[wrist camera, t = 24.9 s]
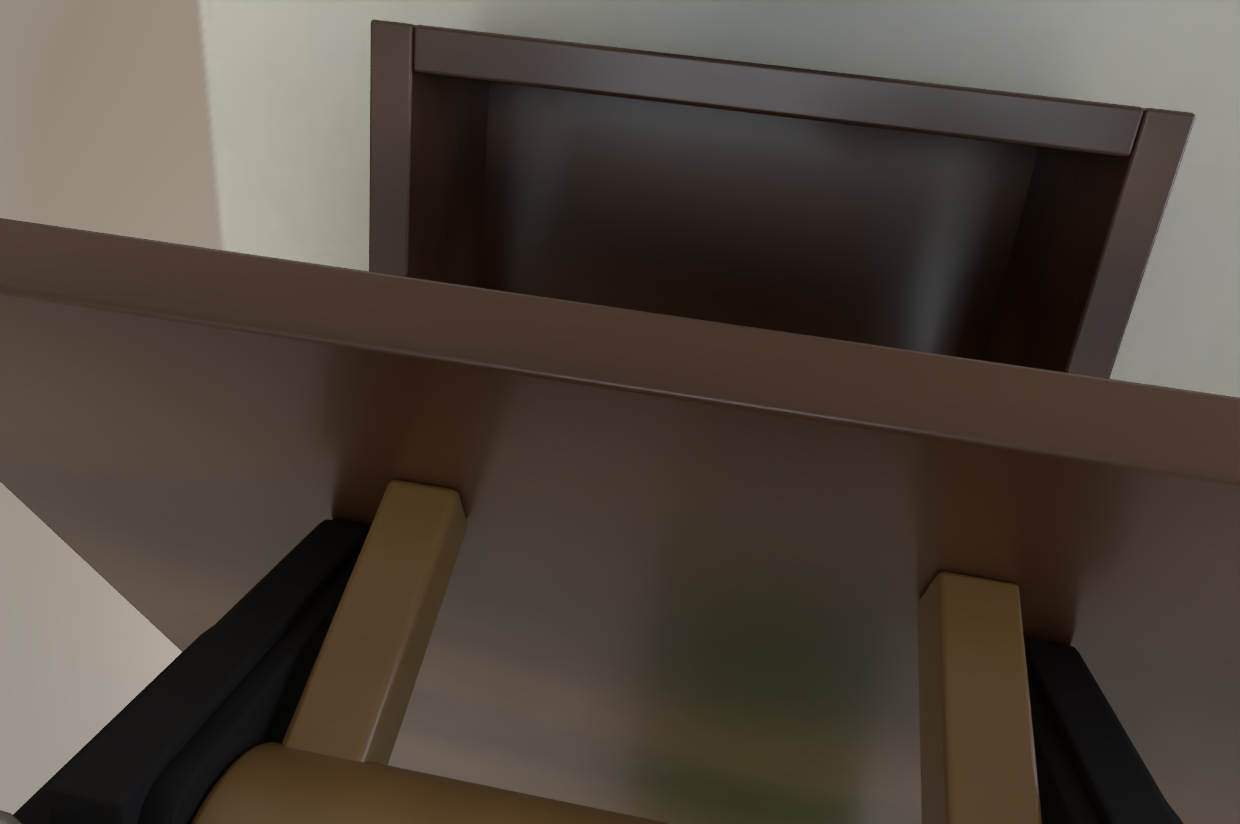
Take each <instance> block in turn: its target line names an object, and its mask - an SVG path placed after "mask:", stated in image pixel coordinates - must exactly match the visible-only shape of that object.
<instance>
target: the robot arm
mask: <svg viewBox="0 0 1240 824" xmlns="http://www.w3.org/2000/svg"><path fill="white" fill-rule="evenodd" d="M370 528H371V526H365V525H360V524H354V523H348V522H342V521H336V520H324V521H322V522H321V523H319V524H318V525H317V526H316V527H315V528H314V529H313V530H312V531H311V532H310V533H309V534H308V535H307V536H306V537H305V538H304V539H303V540H302V541H301V542H300V543H299V544H298V545H297V546H296V547H294V548H293V549H292V550H291V551H290V552H289V553H288V554H287V555H286V556H285V557H284V558H283V559H282V560H281V561H280V562H279V563H278V564H277V565H276V566H275V567H274V568H273V569H272V570H271V571H270V572H269V573H268V574H267V575H266V576H264V577H263V578H262V579H261V580H260V581H259V582H258V583H257V584H256V585H255V586H254V587H253V588H252V589H251V590H250V591H249V592H248V593H247V594H246V595H245V596H244V597H243V598H242V599H241V600H240V601H239V602H238V603H237V604H236V605H234V606H233V607H232V608H231V609H230V610H229V611H228V612H227V613H226V614H225V615H224V616H223V617H222V618H221V619H220V620H219V621H218V622H217V623H216V624H215V625H214V626H212V627H211V628H209V629H208V630H206V631H205V632H204V633H202V634H201V635H200V636H199V637H198V638H197V639H196V640H195V641H194V642H193V643H192V644H190V645H189V646H188V647H187V648H186V649H185V650H184V651H183V652H182V653H181V654H180V655H179V656H178V657H177V658H176V659H175V660H174V661H173V662H172V663H171V664H170V665H169V666H168V667H167V668H166V669H164V670H163V672H161V673H160V674H159V675H158V676H157V677H156V678H155V679H154V680H153V681H152V682H151V683H150V684H149V685H148V686H147V687H146V688H145V689H144V690H143V691H142V692H141V693H139V694H138V695H137V696H136V697H135V698H134V699H133V700H132V701H131V702H130V703H129V704H128V705H127V706H126V707H125V708H124V709H123V710H122V711H121V712H120V713H119V714H118V715H117V716H116V717H115V718H113V719H112V720H111V721H110V722H109V723H108V724H107V725H106V726H105V727H104V728H103V729H102V730H101V731H100V732H99V733H98V734H97V735H96V736H95V737H94V738H93V739H92V740H91V741H90V742H88V743H87V744H86V746H84V747H83V748H82V749H81V750H80V751H79V752H78V753H77V754H76V755H75V756H74V757H73V758H72V759H71V760H70V761H69V762H68V763H67V764H66V765H64V767H63V768H61V769H60V770H59V771H58V772H57V773H56V774H55V775H54V776H53V777H52V778H51V779H50V780H49V781H48V782H47V783H46V784H45V785H44V786H43V787H42V788H41V789H40V790H38V791H37V792H36V794H34V795H33V796H32V797H31V798H30V799H29V800H28V801H27V802H26V803H25V804H24V805H23V806H22V807H21V808H20V809H19V810H18V811H17V812H16V813H15V814H14V815H12V814H10V813H7V812H4V811H1V810H0V824H191V822H192V821H193V819H194V817H195V815H196V813H197V811H198V810H199V808H200V806H201V805H202V803H203V802H204V800H205V798H206V797H207V795H208V794H209V792H210V791H211V789H212V788H213V786H214V785H215V784H216V782H217V781H218V780H219V778H220V777H221V776H222V775H223V773H224V772H225V771H226V770H227V769H228V768H229V767H230V766H231V764H232V763H233V762H234V761H235V760H236V759H238V758H239V757H240V756H241V755H242V754H243V753H245V752H246V751H248V750H249V749H251V748H252V747H255V746H257V745H260V744H264V743H270V742H277V743H281V744H282V742H283V739H284V737H285V735H286V732H287V730H288V727H289V725H290V722H291V720H292V717H293V715H294V713H295V710H296V708H297V705H298V703H299V700H300V698H301V696H302V693H303V691H304V688H305V686H306V683H307V681H308V679H309V676H310V674H311V671H312V669H313V666H314V664H315V661H316V659H317V657H318V654H319V652H320V649H321V647H322V644H323V642H324V640H325V637H326V635H327V632H328V630H329V627H330V625H331V622H332V620H333V618H334V615H335V613H336V610H337V608H338V605H339V603H340V601H341V598H342V596H343V593H344V591H345V588H346V586H347V584H348V581H349V579H350V576H351V574H352V571H353V569H354V566H355V564H356V562H357V559H358V557H359V554H360V552H361V549H362V547H363V545H364V542H365V540H366V537H367V535H368V532H369V530H370ZM1024 645H1025V655H1026V665H1027V675H1028V685H1029V695H1030V706H1031V716H1032V726H1033V736H1034V746H1035V756H1036V766H1037V776H1038V786H1039V796H1040V807H1041V817H1042V824H1183V822H1182V821H1181V819H1180V818H1179V816H1178V815H1177V814H1176V813H1175V811H1174V810H1173V809H1172V807H1171V806H1170V805H1169V804H1168V803H1167V801H1166V799H1165V798H1164V796H1163V794H1162V792H1161V791H1160V789H1159V787H1158V786H1157V784H1156V782H1155V781H1154V779H1153V777H1152V775H1151V774H1150V772H1149V770H1148V769H1147V767H1146V765H1145V764H1144V762H1143V760H1142V758H1141V757H1140V755H1139V753H1138V752H1137V750H1136V748H1135V747H1134V745H1133V743H1132V741H1131V740H1130V738H1129V736H1128V735H1127V733H1126V731H1125V730H1124V728H1123V726H1122V724H1121V723H1120V721H1119V719H1118V718H1117V716H1116V714H1115V713H1114V711H1113V709H1112V707H1111V706H1110V704H1109V702H1108V701H1107V699H1106V697H1105V695H1104V694H1103V692H1102V690H1101V689H1100V687H1099V685H1098V684H1097V682H1096V680H1095V678H1094V677H1093V675H1092V673H1091V672H1090V670H1089V668H1088V667H1087V665H1086V663H1085V661H1084V660H1083V658H1082V656H1081V655H1080V653H1079V652H1078V651H1077V650H1076V648H1075V647H1072V646H1069V645H1063V644H1057V643H1051V642H1046V641H1040V640H1034V639H1028V638H1024Z"/></svg>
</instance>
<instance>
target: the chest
mask: <svg viewBox="0 0 1240 824" xmlns="http://www.w3.org/2000/svg"><path fill="white" fill-rule="evenodd" d="M1194 120H1195V114H1193V113H1189V112H1180V111H1171V110H1162V109H1154V108H1141V107H1136V106H1127V105H1118V104H1109V103H1101V102H1092V101H1083V100H1074V99H1066V98H1057V97H1048V96H1039V95H1030V94H1022V93H1013V92H1004V91H995V90H986V89H978V88H969V87H960V86H951V85H943V84H934V83H925V82H916V81H907V80H899V79H890V78H881V77H872V76H863V75H855V74H846V73H837V72H828V71H819V70H811V69H802V68H793V67H784V66H776V65H767V64H758V63H749V62H740V61H732V60H723V59H714V58H705V57H696V56H688V55H679V54H670V53H661V52H653V51H644V50H635V49H626V48H617V47H609V46H600V45H591V44H582V43H573V42H565V41H556V40H547V39H538V38H529V37H521V36H512V35H503V34H494V33H486V32H477V31H468V30H459V29H450V28H442V27H433V26H424V25H413V24H407V23H398V22H389V21H381V20H372V21H371V91H370V239H369V272H374V273H381V274H388V275H395V276H402V277H409V278H416V279H423V280H430V281H437V282H443V283H450V284H457V285H464V286H471V287H478V288H485V289H492V290H499V291H506V292H512V293H519V294H526V295H533V296H540V297H547V298H554V299H561V300H568V301H575V302H581V303H588V304H595V305H602V306H609V307H616V308H623V309H630V310H637V311H644V312H650V313H657V314H664V315H671V316H678V317H685V318H692V319H699V320H706V321H713V322H719V323H726V324H733V325H740V326H747V327H754V328H761V329H768V330H775V331H782V332H788V333H795V334H802V335H809V336H816V337H823V338H830V339H837V340H844V341H851V342H857V343H864V344H871V345H878V346H885V347H892V348H899V349H906V350H913V351H919V352H926V353H933V354H940V355H947V356H954V357H961V358H968V359H975V360H982V361H988V362H995V363H1002V364H1009V365H1016V366H1023V367H1030V368H1037V369H1044V370H1051V371H1057V372H1064V373H1071V374H1078V375H1085V376H1092V377H1099V378H1106V379H1109V377H1110V374H1111V371H1112V368H1113V365H1114V362H1115V359H1116V356H1117V353H1118V350H1119V347H1120V344H1121V341H1122V338H1123V335H1124V332H1125V329H1126V326H1127V323H1128V320H1129V317H1130V314H1131V311H1132V308H1133V305H1134V302H1135V299H1136V295H1137V292H1138V289H1139V286H1140V283H1141V280H1142V277H1143V274H1144V271H1145V268H1146V265H1147V262H1148V259H1149V256H1150V253H1151V250H1152V247H1153V244H1154V241H1155V238H1156V235H1157V232H1158V229H1159V226H1160V223H1161V220H1162V217H1163V214H1164V211H1165V208H1166V205H1167V202H1168V199H1169V196H1170V193H1171V190H1172V187H1173V184H1174V181H1175V177H1176V174H1177V171H1178V168H1179V165H1180V162H1181V159H1182V156H1183V153H1184V150H1185V147H1186V144H1187V141H1188V138H1189V135H1190V132H1191V129H1192V126H1193V123H1194Z"/></svg>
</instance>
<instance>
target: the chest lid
mask: <svg viewBox="0 0 1240 824" xmlns="http://www.w3.org/2000/svg"><path fill="white" fill-rule="evenodd" d="M0 482H1V483H3V484H4V485H5V486H6V487H7V488H8V489H9V490H10V491H11V492H12V493H13V494H14V495H15V496H16V497H17V498H18V499H20V500H21V501H22V502H23V503H24V504H25V505H26V506H27V507H28V508H29V509H30V510H31V511H32V512H34V513H35V514H36V515H37V516H38V517H39V518H40V519H41V520H42V521H43V522H44V523H45V524H46V525H47V526H48V527H49V528H51V529H52V530H53V531H54V532H55V533H56V534H57V535H58V536H59V537H60V538H61V539H62V540H63V541H64V542H65V543H67V544H68V545H69V546H70V547H71V548H72V549H73V550H74V551H75V552H76V553H77V554H78V555H79V556H81V557H82V558H83V559H84V560H85V561H86V562H87V563H88V564H89V565H90V566H91V567H92V568H93V569H94V570H96V572H98V573H99V574H100V575H101V576H102V577H103V578H104V579H105V580H106V581H107V582H108V583H109V584H110V585H111V586H113V587H114V588H115V589H116V590H117V591H118V592H119V593H120V594H121V595H122V596H123V597H124V598H125V599H126V600H127V601H129V602H130V603H131V604H132V605H133V606H134V607H135V608H136V609H137V610H138V611H140V613H141V614H143V615H144V616H145V617H146V618H147V619H148V620H149V621H150V622H151V623H152V624H153V625H154V626H155V627H156V628H157V629H159V630H160V631H161V632H162V633H163V634H164V635H165V636H166V637H167V638H168V639H169V640H170V641H171V642H173V644H175V645H176V646H177V647H178V648H179V649H180V650H181V651H182V652H183V651H184V650H185V649H186V648H187V647H188V646H189V645H190V644H192V643H193V642H194V641H195V640H196V639H197V638H198V637H199V636H200V635H201V634H202V633H204V632H205V631H206V630H208V629H209V628H211V627H212V626H214V625H215V624H216V623H217V622H218V621H219V620H220V619H221V618H222V617H223V616H224V615H225V614H226V613H227V612H228V611H229V610H230V609H231V608H232V607H233V606H234V605H236V604H237V603H238V602H239V601H240V600H241V599H242V598H243V597H244V596H245V595H246V594H247V593H248V592H249V591H250V590H251V589H252V588H253V587H254V586H255V585H256V584H257V583H258V582H259V581H260V580H261V579H262V578H263V577H264V576H266V575H267V574H268V573H269V572H270V571H271V570H272V569H273V568H274V567H275V566H276V565H277V564H278V563H279V562H280V561H281V560H282V559H283V558H284V557H285V556H286V555H287V554H288V553H289V552H290V551H291V550H292V549H293V548H294V547H296V546H297V545H298V544H299V543H300V542H301V541H302V540H303V539H304V538H305V537H306V536H307V535H308V534H309V533H310V532H311V531H312V530H313V529H314V528H315V527H316V526H317V525H318V524H319V523H321V522H322V521H324V520H336V521H342V522H348V523H354V524H360V525H365V526H371V528H370V530H369V532H368V535H367V537H366V540H365V542H364V545H363V547H362V549H361V552H360V554H359V557H358V559H357V562H356V564H355V566H354V569H353V571H352V574H351V576H350V579H349V581H348V584H347V586H346V588H345V591H344V593H343V596H342V598H341V601H340V603H339V605H338V608H337V610H336V613H335V615H334V618H333V620H332V622H331V625H330V627H329V630H328V632H327V635H326V637H325V640H324V642H323V644H322V647H321V649H320V652H319V654H318V657H317V659H316V661H315V664H314V666H313V669H312V671H311V674H310V676H309V679H308V681H307V683H306V686H305V688H304V691H303V693H302V696H301V698H300V700H299V703H298V705H297V708H296V710H295V713H294V715H293V717H292V720H291V722H290V725H289V727H288V730H287V732H286V735H285V737H284V739H283V742H282V744H281V743H277V742H270V743H264V744H260V745H257V746H255V747H252V748H251V749H249V750H248V751H246V752H245V753H243V754H242V755H241V756H240V757H239V758H238V759H236V760H235V761H234V762H233V763H232V764H231V766H230V767H229V768H228V769H227V770H226V771H225V772H224V773H223V775H222V776H221V777H220V778H219V780H218V781H217V782H216V784H215V785H214V786H213V788H212V789H211V791H210V792H209V794H208V795H207V797H206V798H205V800H204V802H203V803H202V805H201V806H200V808H199V810H198V811H197V813H196V815H195V817H194V819H193V821H192V822H191V824H1042V817H1041V807H1040V796H1039V786H1038V776H1037V766H1036V756H1035V746H1034V736H1033V726H1032V716H1031V706H1030V695H1029V685H1028V675H1027V665H1026V655H1025V645H1024V638H1028V639H1034V640H1040V641H1046V642H1051V643H1057V644H1063V645H1069V646H1072V647H1075V648H1076V650H1077V651H1078V652H1079V653H1080V655H1081V656H1082V658H1083V660H1084V661H1085V663H1086V665H1087V667H1088V668H1089V670H1090V672H1091V673H1092V675H1093V677H1094V678H1095V680H1096V682H1097V684H1098V685H1099V687H1100V689H1101V690H1102V692H1103V694H1104V695H1105V697H1106V699H1107V701H1108V702H1109V704H1110V706H1111V707H1112V709H1113V711H1114V713H1115V714H1116V716H1117V718H1118V719H1119V721H1120V723H1121V724H1122V726H1123V728H1124V730H1125V731H1126V733H1127V735H1128V736H1129V738H1130V740H1131V741H1132V743H1133V745H1134V747H1135V748H1136V750H1137V752H1138V753H1139V755H1140V757H1141V758H1142V760H1143V762H1144V764H1145V765H1146V767H1147V769H1148V770H1149V772H1150V774H1151V775H1152V777H1153V779H1154V781H1155V782H1156V784H1157V786H1158V787H1159V789H1160V791H1161V792H1162V794H1163V796H1164V798H1165V799H1166V801H1167V803H1168V804H1169V805H1170V806H1171V807H1172V809H1173V810H1174V811H1175V813H1176V814H1177V815H1178V816H1179V818H1180V819H1181V821H1182V822H1183V824H1240V398H1237V397H1230V396H1223V395H1216V394H1209V393H1202V392H1195V391H1189V390H1182V389H1175V388H1168V387H1161V386H1154V385H1147V384H1140V383H1133V382H1126V381H1120V380H1113V379H1106V378H1099V377H1092V376H1085V375H1078V374H1071V373H1064V372H1057V371H1051V370H1044V369H1037V368H1030V367H1023V366H1016V365H1009V364H1002V363H995V362H988V361H982V360H975V359H968V358H961V357H954V356H947V355H940V354H933V353H926V352H919V351H913V350H906V349H899V348H892V347H885V346H878V345H871V344H864V343H857V342H851V341H844V340H837V339H830V338H823V337H816V336H809V335H802V334H795V333H788V332H782V331H775V330H768V329H761V328H754V327H747V326H740V325H733V324H726V323H719V322H713V321H706V320H699V319H692V318H685V317H678V316H671V315H664V314H657V313H650V312H644V311H637V310H630V309H623V308H616V307H609V306H602V305H595V304H588V303H581V302H575V301H568V300H561V299H554V298H547V297H540V296H533V295H526V294H519V293H512V292H506V291H499V290H492V289H485V288H478V287H471V286H464V285H457V284H450V283H443V282H437V281H430V280H423V279H416V278H409V277H402V276H395V275H388V274H381V273H374V272H368V271H361V270H354V269H347V268H340V267H333V266H326V265H319V264H312V263H306V262H299V261H292V260H285V259H278V258H271V257H264V256H257V255H250V254H243V253H237V252H230V251H223V250H215V249H208V248H202V247H195V246H188V245H181V244H174V243H167V242H160V241H153V240H146V239H139V238H133V237H126V236H119V235H112V234H105V233H98V232H91V231H85V230H77V229H71V228H64V227H57V226H50V225H43V224H36V223H29V222H22V221H16V220H9V219H2V218H0Z"/></svg>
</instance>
